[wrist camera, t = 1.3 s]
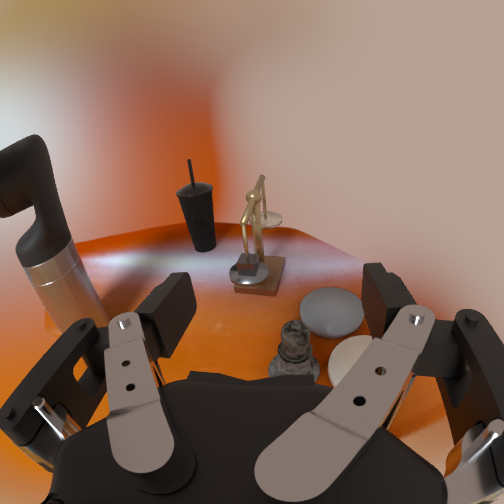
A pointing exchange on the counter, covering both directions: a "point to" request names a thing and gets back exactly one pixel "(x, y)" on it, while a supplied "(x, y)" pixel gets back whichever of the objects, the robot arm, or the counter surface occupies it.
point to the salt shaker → (294, 352)
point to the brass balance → (257, 249)
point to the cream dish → (346, 356)
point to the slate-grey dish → (332, 312)
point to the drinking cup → (198, 212)
